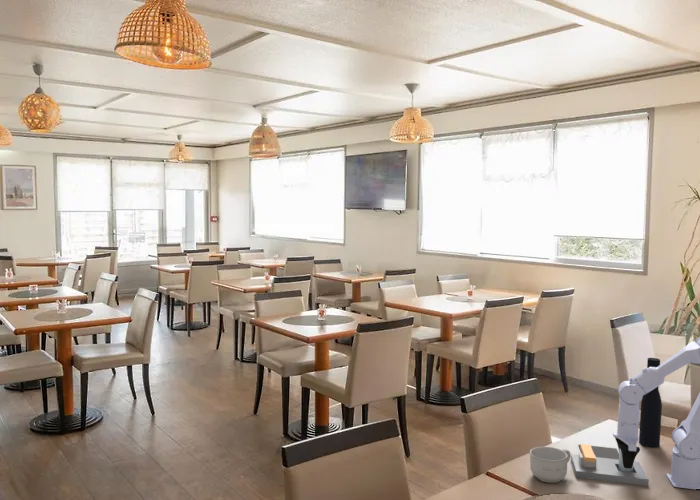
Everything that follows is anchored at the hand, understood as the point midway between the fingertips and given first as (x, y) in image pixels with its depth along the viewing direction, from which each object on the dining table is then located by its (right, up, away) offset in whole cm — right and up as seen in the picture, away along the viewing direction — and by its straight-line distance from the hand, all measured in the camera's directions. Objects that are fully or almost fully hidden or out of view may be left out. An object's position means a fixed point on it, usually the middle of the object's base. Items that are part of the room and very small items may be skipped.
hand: (625, 464), depth 176 cm
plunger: (-11, -1, +3) cm, 11 cm away
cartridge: (0, -3, 0) cm, 3 cm away
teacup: (-23, -3, -2) cm, 24 cm away
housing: (-5, -3, +1) cm, 6 cm away
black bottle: (+19, -2, +23) cm, 30 cm away
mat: (-2, -2, +14) cm, 14 cm away
